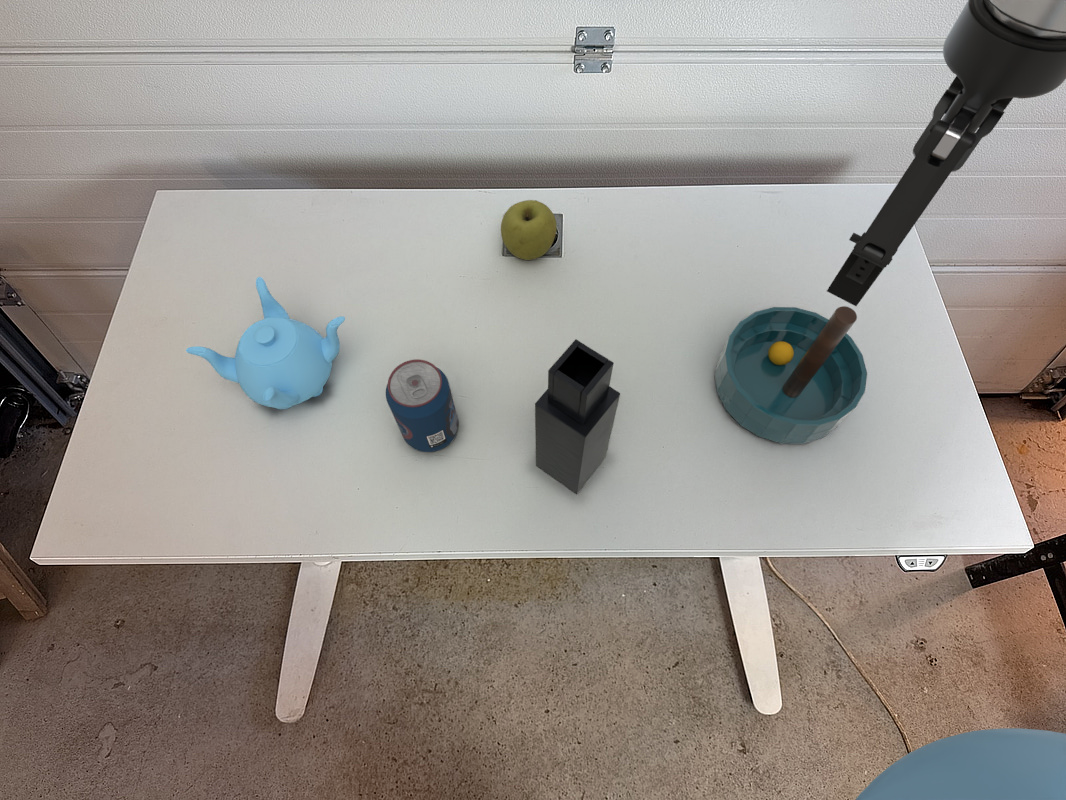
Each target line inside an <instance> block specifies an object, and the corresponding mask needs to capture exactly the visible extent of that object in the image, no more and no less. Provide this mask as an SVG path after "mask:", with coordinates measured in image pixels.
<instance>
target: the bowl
mask: <svg viewBox="0 0 1066 800" xmlns="http://www.w3.org/2000/svg"><path fill="white" fill-rule="evenodd" d="M829 319H830V318H827V317H826V316H823V315H821V314H819V313H817V312H815V311H810V310H807V309H804V308H799V307H794V306H772V307H768V308H765V309H761V310H757V311H754V312H752V313H751V314H750V315H748V316H747V317H745V318H743V319H742V320H740V321H739V322H738V323H737V325H736V326H735V328H734V329H733V330H732V332H731V333H730V334H729V336H728V338H727V340H726V342H725V344H724V347H723V349H722V351H721V353H720V355H719V357H718V359H717V364H716V368H715V371H714V378H715V387H716V392H717V395H718V397H719V399H720V401H721V403H722V404H723V407H724V409H725V411H727V413H728V414H729V415H730V416H731V417H732V418H733V419H734V420H735V422H737V424H739V426H740V427H743V428H744V429H745V430H747V431H749V432H750V433H752V434H754V435H756V436H758V437H759V438H761V439H765V440H769V441H772V442H775V443H778V444H792V445H794V444H795V445H799V444H801V445H803V444H806V443H810V442H813V441H817V440H821V439H822V438H823V439H824V438H825V436H827V435H829V434H830V433H831V432H832V431H834V430H835V429H836V428H838V427H839V425H840V424H842V423H843V421H844V420H845V419H846V418H847V417H849V415H850V414H851V413H852V412H853V411H854V410H855V409H856V408H857V406H858V404H859V403H860V401H861V400H862V397H864V394H865V393H866V386H867V379H868V371H867V367H866V363H865V359H864V355H863V353H862V351H861V350H860V349H859V347H858V345H857V344H856V343H855V341H854V339H853V337H852V336H850V335H849V334H848V332H847V333H846V334H845V336H844V337H843V338H842V340H841V341H840V342H839V344H838V345H837V346H836V348H835V349H834V350H833V352H832V353H831V354H830V355H829V357H828V358H827V359H826V361H825V362H824V363H823V365H822V366H821V367H820V369H819V370H818V371H817V373H816V374H815V375H814V377H813V378H812V379H811V381H810V382H809V383H808V385H807V386H806V387H805V388H804V390H803V391H802V392H801V394H800V395H799V396H798V397H795V398H792V397H788V396H787V395H786V394H785V393H784V392H783V386H784V384H785V383H786V381H787V380H788V378H789V377H790V375H791V374H792V373H793V371H794V370H795V368H796V367H797V365H798V364H799V362H800V361H801V360H802V358H803V357H804V355H805V354H806V352H807V351H808V349H809V348H810V347H811V345H812V344H813V342H814V341H815V339H816V338H817V336H818V335H819V333H820V332H821V331H822V329H823V328H824V326H825V325H826V323H827V322H828V320H829ZM779 341H783V342H787V343H789V344H790V345H791V346H792V348H793V351H794V355H793V358H792V360H791V361H790V362H789V363H787V364H785V365H776V364H774V363H773V362H771V360H770V359H769V356H768V351H769V348H770V347H771V345H772V344H774V343H776V342H779Z"/></svg>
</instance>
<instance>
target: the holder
mask: <svg viewBox="0 0 1066 800" xmlns="http://www.w3.org/2000/svg"><path fill="white" fill-rule="evenodd" d="M613 368H614V362H613V361H612V360H610V359H609V358H607V357H606V356H604V355H602V354H601V353H599V352H597V351H596V350H594V349H592V348H591V347H590V346H588V345H586V344H585V343H583V342H581V341H580V340H579V339H577V338H575V339H574V340H573V341H572V343H571V344H570V345H569V346H568V347H567V348H566V350H565V351H564V352H563V353H562V354H561V355H560V356H559V357H558V358H557V360H556V361H555V362H554V363H553V364H552V365H551V367H550V368H549V369H548V370H547V372H548V373H547V389H545V391H544V392H543V394H542V395H540V397H539V398H538V399H537V401H536V402H535V403H534V427H535V428H534V430H535V431H534V432H535V433H534V434H535V437H534V439H535V466H536V467H537V468H538V469H540V470H541V471H542V472H544V473H545V474H547V475H548V476H550V477H551V478H552V479H554V480H555V481H557V482H558V483H560V484H561V485H563V486H564V488H566V489H568V490H569V491H571V492H573V494H575V495H578V494H579V493H580V492H581V490H582V489H583V487H584V486H585V485H586V484H587V482H588V481H589V480H590V479H591V477H592V476H593V474H594V473H595V472H596V470H597V469H598V468H599V467H600V466H601V464H602V463H603V462H604V460H605V459H606V458H607V453H608V448H609V445H610V439H611V435H612V431H613V427H614V422H615V419H616V414H617V410H618V405H619V402H620V398H621V392H619V391H617V390H616V389H615V388H613V387H612V386H610V385H611V379H612V375H613Z"/></svg>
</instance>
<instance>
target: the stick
mask: <svg viewBox="0 0 1066 800" xmlns="http://www.w3.org/2000/svg"><path fill="white" fill-rule="evenodd" d="M828 319H829V320H828V322H827V323H826V325H825V326H824V328H823V329H822V331H821V332H820V333H819V335H818V336H817V338H816V339H815V341H814V342H813V344H812V345H811V347H810V348H809V349H808V351H807V352H806V354H805V355H804V357H803V358H802V360H801V361H800V362H799V364H798V365H797V367H796V368H795V370H794V371H793V373H792V374H791V375H790V377H789V378H788V380H787V381H786V383H785V384H784V386H783V392H784V393H785V394H786V395H787V396H788V397H792V398H795V397H798V396H799V395H800V394H801V392H802V391H803V390H804V388H805V387H806V386H807V385H808V383H809V382H810V381H811V379H812V378H813V377H814V375H815V374H816V373H817V371H818V370H819V369H820V367H821V366H822V365H823V363H824V362H825V361H826V359H827V358H828V357H829V355H830V354H831V353H832V352H833V350H834V349H835V348H836V346H837V345H838V344H839V342H840V341H841V340H842V338H843V337H844V336H845V334H846V333H847V334H848V332H849V331H850V329H851V328H852V327H853V325H854V324H855V323H856V322H857V319H858V315H857V313H856V311H855V309H853V308H851V307H850V306H845V305H844V306H839V307H836V309H835V310H834V312H833V313H832V315H831V316H830V317H829V318H828Z"/></svg>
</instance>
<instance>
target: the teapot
mask: <svg viewBox="0 0 1066 800" xmlns="http://www.w3.org/2000/svg"><path fill="white" fill-rule="evenodd" d="M255 287H256V290H257V294H258V296H259V301H260V305H261V309H262V315H263V319H260V320H258V321H256V322H254V323H253V324H251V325H249V327H247V328H246V330H244V332H243V334H242V335H241V337H240V338H239V341H238V342H237V343H238V344H237V347H236V350H235V355H234V357H231V356H225V355H222V354H221V353H218V352H217V351H216V350H213V349H211V348H208V347H206V346H199V345H196V346H195V345H193V346H189V347H187V348H186V349H185V352H186V353H188V354H190V355H194V356H196V357H200V358H202V359H204V360H206V361H207V362H208V363H209V365H210V366H211V367H212V368H213V370H214V371H215V372H216V373H217V374H218V375H219V376H220V377H221V378H223V379H224V380H227V381H230V382H233V383H236V384H239V387H240V388H241V390H242V391H243V392H244V394H245V395H246V396H247V397H248V398H249V399H250V400H252V402H254V403H256V404H259V405H261V406H264V407H267V408H268V407H269V408H273V409H276V410H287V409H290V408H292V407H294V406H297V405H299V404H302V403H304V402H306V401H308V400H309V399H311V398H316V397H318V396H320V395H321V394H322V393H323V391H324V386H325V385H326V384H327V381H328V380H329V378H330V375H331V372H332V369H333V361H334V360H335V359H336V358H337V356H338V355H339V353H340V348H341V344H340V343H341V342H340V338H339V335H338V329H339V327H340V326H341V325H342V324H343V323H344V322H345V320H346V316H337V317H335V318H333V319H331V320H330V321H329V322H328V324H327V325H326V327H325V332H326V336H324V337H323V336H322V334H320V333H319V332H318V331H317V330H316V329H315V328H313V327H312V326H310V325H309V324H307V323H304V322H303V321H300V320H297V319H292V318H290V316H289V313H288V312H287V310H286V309H285V308H284V306H282V304H281V303H280V302H278V300H277V299H275V297H274V296H273V295H272V293H271V292H270V290H269V289H268V285H267V283H266V281H265V280H264V278H263V277H262V276H258V277H256V279H255Z"/></svg>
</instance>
